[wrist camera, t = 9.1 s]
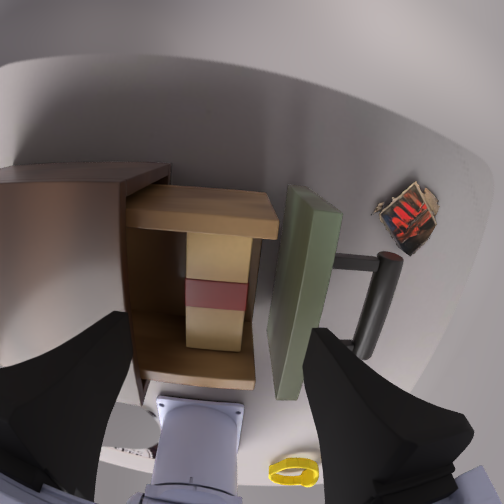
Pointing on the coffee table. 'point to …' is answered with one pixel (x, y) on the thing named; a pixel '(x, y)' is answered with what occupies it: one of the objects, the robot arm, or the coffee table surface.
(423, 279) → the coffee table surface
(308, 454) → the coffee table surface
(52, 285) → the cabinet
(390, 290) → the pullout
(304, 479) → the yellow rubber band ring
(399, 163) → the coffee table surface
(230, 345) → the tan red striped block
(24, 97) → the coffee table surface
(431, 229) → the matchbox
